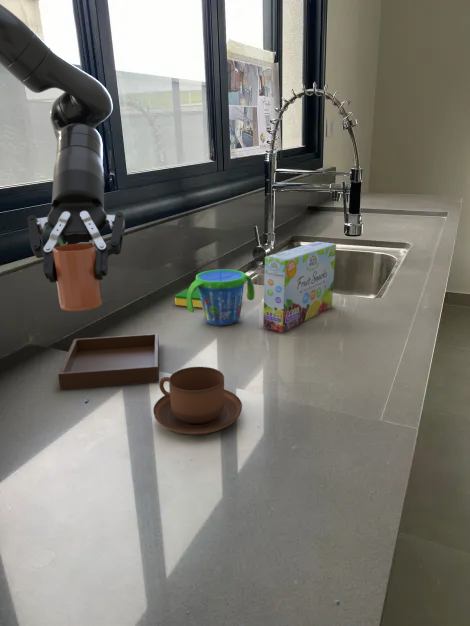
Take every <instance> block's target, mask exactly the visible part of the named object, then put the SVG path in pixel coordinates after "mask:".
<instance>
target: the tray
mask: <svg viewBox="0 0 470 626" xmlns="http://www.w3.org/2000/svg"><path fill="white" fill-rule="evenodd" d="M57 376H58V384H59V390H60V391H62V390H63V391H64V390H77V389H87V388H88V389H89V388H101V387H103V388H104V387H115V386H127V385H141V384H150V383H152V384H153V383H159V382H160V339H159V333H157V332H156V333H143V334H142V333H141V334H128V335H112V336H111V335H110V336H99V337H98V336H97V337H83V338H74V339H73V341H72V343H71V345H70V347H69V348H68V352H67V354H66V356H65V358H64V361H63V363H62V365H61V367H60V369H59V371H58V374H57Z"/></svg>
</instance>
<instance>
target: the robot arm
mask: <svg viewBox="0 0 470 626" xmlns="http://www.w3.org/2000/svg"><path fill="white" fill-rule="evenodd" d="M0 65H1V66H2V67H3V68H5V70H6V71H8V72H9V73H10V74H11V75H12V76H13V77H14V78H16V79H17V80H18V81H19V82H20V83H21V84H22V85H23V86H24V87H26V88H27V89H28V90H29V91H30V92H32V93H35V94H39V93H43V92H45V91H48V90H51V89H58V90H60V91H62V92H63V93H61V95H59V96H58V97H57V98H56V99H55V100H54V101H53V103H52V105H51V108H50V112H49V118H50V123H51V125H52V130H53V132H54V135H55V139H56V142H57V143H56V158H55V163H54V167H53V176H52V177H53V178H52V193H51V210H50V212H49V213H48V214H47V216H44V217H37V216H36V215H35V214H30V215H28V217H27V227H28V236H29V245H30V248H31V250H32V252H33V254H34V256H35V258H37V259H41V258H43V266H42V267H43V268H42V272H43V274H44V276H45V278H46V279H47V280H48V281H49V282H50V283H57V281H56V274H55V267H54V260H53V253H52V249H53V248H54V247H57V246H61V245H67V244H75V243H77V242H79V243H90V242H91V244H94V245H96V276H97V279H98V280H100V281H103V280H104V277H107V276H108V273H109V266H108V265H109V257H110V256H111V255H116V256H118V255H120V254H121V253H122V247H123V243H124V242H123V241H124V236H125V229H126V220H125V216H124V212H122V211H117V212H115V214H107V212H106V211H105V187H106V181H105V171H104V166H103V165H104V164H103V163H104V161H103V159H104V158H103V157H104V151H103V150H104V148H103V140H102V136H101V134H100V133H99V132H98V130H97V129H96V127H98V126H99V125H100V124H101V123H102V122H104V121H106V120H107V119H108V118H109V117H110V115H111V114H112V112H113V109H114V108H113V106H114V105H113V100H112V97H111V94H110V93H109V91H108V89H107V88H106V87H105V86H104V85H103V84H102V83H101V82H100V81H99V80H97V79H96V78H95V77H93V76H92V75H90V74H89V73H87V72H85V71H84V70H82V69H80V68H79V67H77V66H75V65H73V64H72V63H70V62H69V61H67V60H66V59H64V58H63V57H61V56H60V55H58V54H57V53H56V52H54V51H53V49H51V47H49V45H48V44H46V42H45V41H43V40H42V38H41V37H40V36H39V35H38V34H37V33H35V31H33V29H32V28H30V26H28V24H26V23H25V22H24V21H23V20H22V19H20V18H19V17H18V16H17V15H15V14H14V13H13V12H12V11H11V10H9V9H8V8H7V7H5V6H4V5H2V4H1V3H0ZM106 225H109V228H110V229H111V237H110V241H108V242H105V240H104V239H103V237H102V235H101V233H100V232H101V231H103V229H104V228H105V227H106ZM48 227H50V228H51V229H52V230H51V232H50V234H49V239H48V240H47V242H46V243H45V244H44V243H43V235H44V234H45V233H46V230H47V228H48Z"/></svg>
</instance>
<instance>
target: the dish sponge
mask: <svg viewBox="0 0 470 626" xmlns="http://www.w3.org/2000/svg"><path fill="white" fill-rule="evenodd" d="M188 290H189V287H188V288H186V289H184V290H182V291H181V292H179V293H177V294H175V295H174V304H175V306H181V307H187V302H186V300H187V293H188ZM192 303H193V308H201V309H203V308H202V303H201V298H200V292H199V289H198V288H196V289H195V291H194V292H193V294H192Z"/></svg>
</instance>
